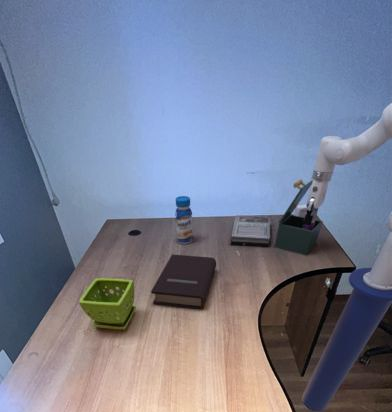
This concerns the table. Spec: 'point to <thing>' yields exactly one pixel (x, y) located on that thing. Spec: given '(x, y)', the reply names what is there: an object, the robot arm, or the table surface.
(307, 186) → the lid
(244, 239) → the hard drive
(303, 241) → the chest
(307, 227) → the container
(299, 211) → the ink box
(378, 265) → the robot arm
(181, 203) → the beverage bottle
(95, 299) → the flower pot
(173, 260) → the book
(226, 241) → the table surface
